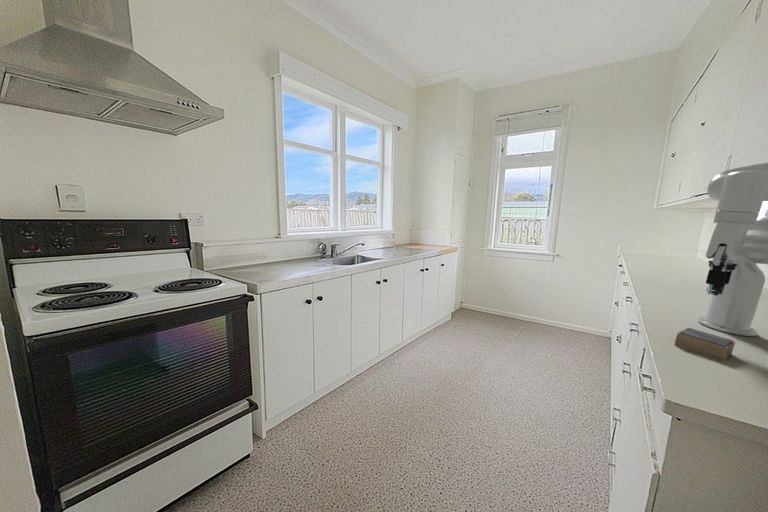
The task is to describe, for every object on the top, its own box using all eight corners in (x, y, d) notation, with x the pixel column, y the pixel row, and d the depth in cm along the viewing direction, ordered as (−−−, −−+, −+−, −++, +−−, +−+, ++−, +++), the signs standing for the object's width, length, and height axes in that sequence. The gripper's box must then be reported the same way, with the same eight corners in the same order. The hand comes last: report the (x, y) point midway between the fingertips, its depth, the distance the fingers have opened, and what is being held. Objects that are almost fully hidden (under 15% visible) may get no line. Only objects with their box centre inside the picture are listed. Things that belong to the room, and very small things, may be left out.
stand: (684, 339, 84) (687, 326, 84) (731, 354, 77) (735, 340, 76) (674, 344, 80) (677, 331, 80) (722, 361, 73) (727, 346, 72)
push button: (724, 298, 79) (735, 262, 77) (696, 293, 84) (705, 258, 81) (730, 295, 83) (740, 260, 81) (703, 289, 87) (712, 256, 85)
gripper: (723, 217, 87) (707, 277, 90) (705, 217, 78) (688, 283, 82) (763, 220, 80) (744, 284, 84) (749, 219, 72) (728, 291, 75)
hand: (717, 283), depth 83 cm, fingers closed on push button, 4 cm apart
